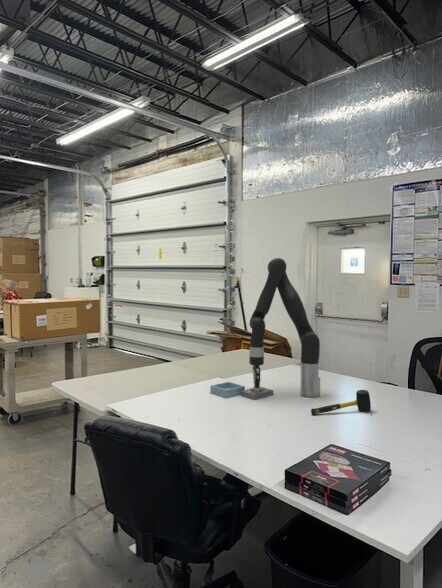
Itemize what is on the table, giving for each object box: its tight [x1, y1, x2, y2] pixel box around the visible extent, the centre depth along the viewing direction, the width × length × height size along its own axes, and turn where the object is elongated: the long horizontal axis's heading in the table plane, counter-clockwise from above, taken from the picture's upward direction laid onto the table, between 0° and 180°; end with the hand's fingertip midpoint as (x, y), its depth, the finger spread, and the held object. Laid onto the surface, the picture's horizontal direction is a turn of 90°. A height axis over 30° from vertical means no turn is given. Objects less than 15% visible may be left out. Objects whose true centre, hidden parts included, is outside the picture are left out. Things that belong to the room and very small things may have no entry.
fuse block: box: [240, 386, 274, 401], centre depth 215 cm, size 10×14×3 cm
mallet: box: [310, 389, 372, 416], centre depth 187 cm, size 29×6×10 cm, turn 103°
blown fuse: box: [252, 377, 262, 393], centre depth 215 cm, size 4×4×9 cm
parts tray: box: [209, 381, 246, 399], centre depth 219 cm, size 13×13×4 cm
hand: (256, 385), depth 215 cm, fingers open, 8 cm apart
